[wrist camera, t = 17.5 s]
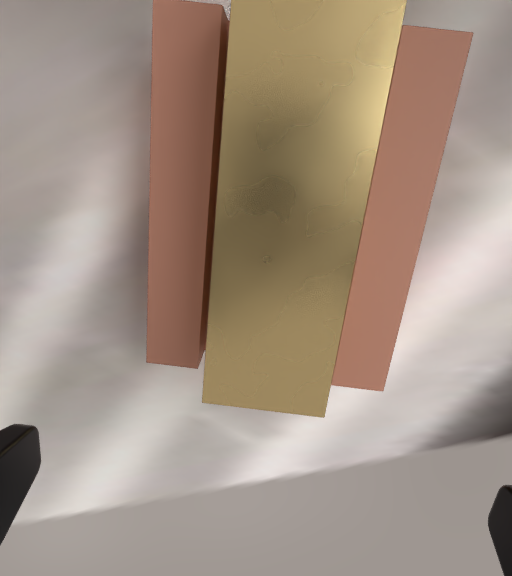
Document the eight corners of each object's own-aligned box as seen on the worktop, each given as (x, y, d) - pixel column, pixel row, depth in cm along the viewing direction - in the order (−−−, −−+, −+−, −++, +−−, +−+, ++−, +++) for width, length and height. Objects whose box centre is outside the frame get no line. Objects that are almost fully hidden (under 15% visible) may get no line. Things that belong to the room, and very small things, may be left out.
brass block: (247, 11, 13) (234, -46, 9) (372, 25, 13) (411, -27, 9) (219, 345, 17) (202, 402, 13) (314, 356, 17) (324, 417, 13)
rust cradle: (429, 57, 15) (473, 32, 11) (364, 348, 19) (383, 391, 15) (180, 30, 15) (152, -3, 12) (169, 324, 19) (146, 362, 16)
